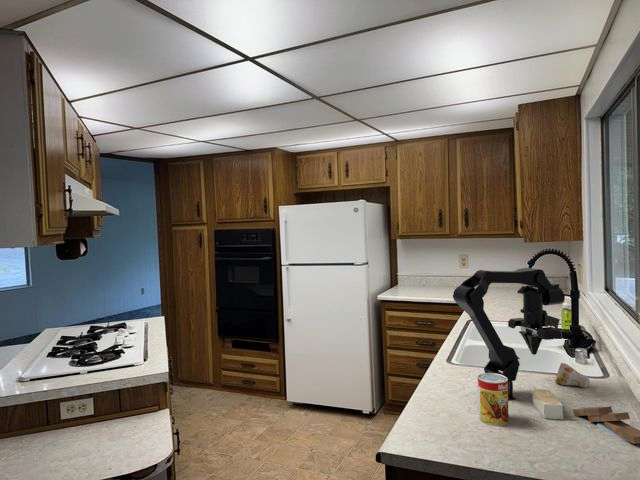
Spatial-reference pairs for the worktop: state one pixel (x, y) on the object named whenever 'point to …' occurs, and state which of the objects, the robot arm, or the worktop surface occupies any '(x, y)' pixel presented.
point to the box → (547, 404)
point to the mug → (571, 376)
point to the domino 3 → (609, 430)
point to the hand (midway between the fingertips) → (534, 354)
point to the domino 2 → (609, 417)
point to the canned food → (493, 399)
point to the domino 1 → (592, 411)
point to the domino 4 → (624, 430)
